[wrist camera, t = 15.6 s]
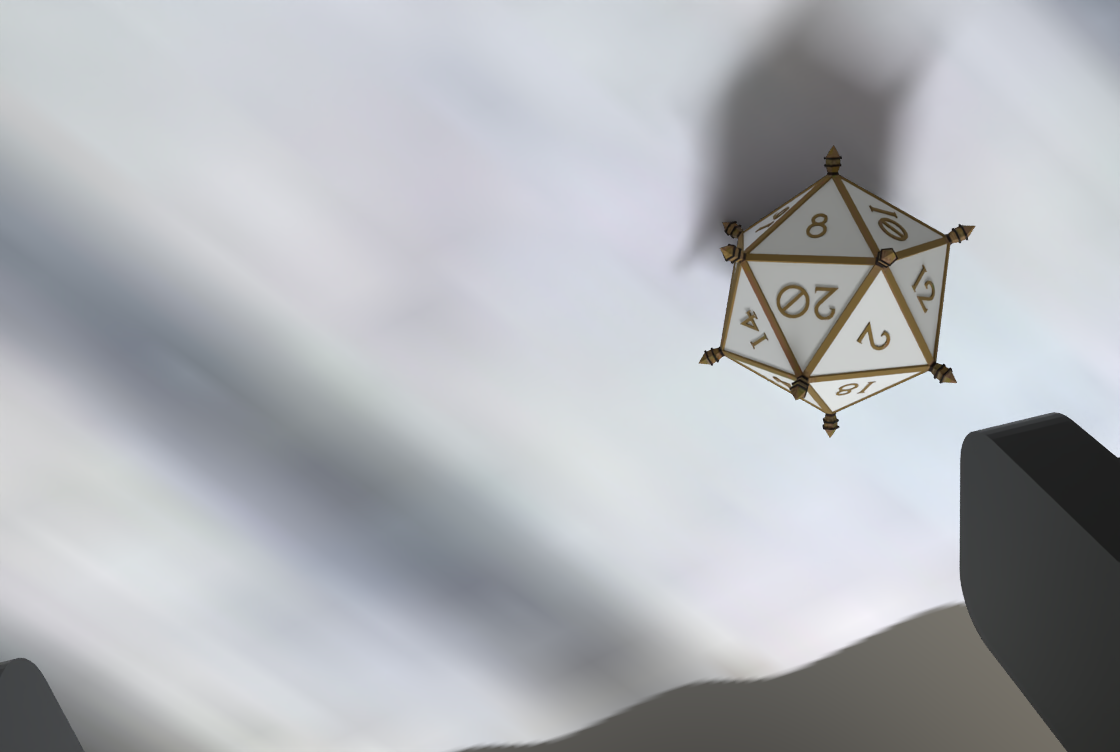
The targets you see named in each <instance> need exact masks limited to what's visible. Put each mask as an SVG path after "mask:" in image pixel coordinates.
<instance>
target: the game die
mask: <svg viewBox="0 0 1120 752" xmlns="http://www.w3.org/2000/svg"><path fill="white" fill-rule="evenodd" d="M824 159H826V164H825V165H824V167H826V168H827V171H828V173H827V175H826V176H825V177H823V178H822V179H820V180H819V181H817V182H816V183H814V184H813V185H811V186H810V187H808V188H807V189H805V190H804V191H802V192H801V193H799V194H798V195H796V196H795V197H793V198H792V199H790V200H789V201H787V202H786V203H784V204H783V205H782V206H780V207H779V208H777V209H776V210H774V211H773V212H771V213H770V214H768V215H767V216H765V217H764V218H762V219H761V220H759V221H758V222H756V223H755V224H753V225H752V226H750V227H749V228H747V229H746V230H744V231H743V230H742V228H741V225H738V224H736V223H737V222H736V221H734V222H722V223H723V225H724V228H725V233H726V234H727V235H728V236H729V235H730V236H731V237H732V238H733V239H734V238H738V242H737V247H736V246H735V245H731V244H728V246H725V247H722V248H720V249H721V251H722V253H723V256H724V258H725V261H731V263H734V266H733V272H732V278H731V284H730V290H729V296H728V302H727V308H726V314H725V321H724V327H723V333H722V339H721V345H720V347H719V348H716V349H713V348H711V350H709V351H706V350H705V351H704V352H705V353H704V355H703V357H702V358H701V360H700V362H699V363H701V364H711V366H712V365H713V363H715V362H719V359H720V358H722V357H723V356H726V357H728V358H729V359H731V360H733V361H735V362H736V363H738V364H740V365H742V366H743V367H745V368H747V369H749V370H750V371H752V372H754V373H756V374H757V375H759V376H761V377H763V378H764V379H766V380H768V381H770V382H771V383H773V384H775V385H777V386H778V387H780V388H782V389H784V390H786V391H787V392H789V393H791V394H792V395H793V396H794V398H795V400H798V399H801V400H803V401H805V402H807V403H808V404H810V405H812V406H814V407H815V408H817V409H819V410H821V411H822V412H824V413H826V415H825V418H823V422H824V424H823V429H825V431H826V432H827V434H828V435H829V437H831V436H832V435H833V433H834V432H835V430H836V429H837V428H839V426H837V422H838V421H839V420H838V419H837V418H836V412H838V411H841V410H843V409H845V408H847V407H849V406H852V405H854V404H856V403H858V402H860V401H863V400H865V399H867V398H869V397H872V396H874V395H876V394H878V393H880V392H883V391H885V390H887V389H889V388H892V387H894V386H896V385H898V384H900V383H903V382H905V381H907V380H909V379H911V378H914V377H916V376H918V375H920V374H923V373H925V372H927V371H930V372H931V373H932V374H933V375H934V379H936V378H937V379H938V380H940V382H939V383H943V382H948V383H957V382H956V380H955V378H954V376H953V374H952V372H953V371H952V369H951V368H947V367H946V366H945V364H943V365H941V364H938V363H936V359H937V351H938V342H939V334H940V326H941V317H942V309H943V301H944V292H945V284H946V276H947V267H948V259H949V251H950V245H951V244H952V243H956V242H959V243H961V241H962V240H965V239H966V240H968V237H969V235H970V234H971V232H972V231H973V229H974V228H975V226H963V225H961V224H959V227H957V228H955V229H954V228H952V231H951V232H950V233H949V234H946V235H945V234H943V233H941V232H939V231H937V230H936V229H934V228H932V227H930V226H929V225H927V224H925V223H923V222H922V221H920V220H918V219H916V218H915V217H913V216H911V215H909V214H908V213H906V212H904V211H902V210H900V209H899V208H897V207H895V206H893V205H892V204H890V203H888V202H886V201H885V200H883V199H881V198H879V197H878V196H876V195H874V194H872V193H870V192H869V191H867V190H865V189H863V188H862V187H860V186H858V185H856V184H855V183H853V182H851V181H849V180H848V179H846V178H844V177H842V176H840V175H839V173H838V170H839V167H840V166H841V164H840V159H842V157H841V156H839V154H838V152H837V150H836V148H835V147H834V145H833V147H832V148H831V150H830V151H829V153H828V155H827V156H826V157H824Z"/></svg>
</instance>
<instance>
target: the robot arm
mask: <svg viewBox="0 0 1120 752" xmlns="http://www.w3.org/2000/svg"><path fill="white" fill-rule="evenodd" d="M960 580H961V587H962V592H963V596H964V599H965V603H966V606H967V609H968V612H969V615H970V617H971V619H972V622H973V624H974V626H975V628H976V630H977V632H978V633H979V635H980V637H981V639H982V640H983V642H984V643H985V645H986V646H987V647H988V649H989V650H990V651H991V653H992V654H993V655H994V657H995V658H996V659H997V660H998V662H999V663H1000V664H1001V666H1002V667H1003V668H1004V669H1005V671H1006V672H1007V674H1008V675H1009V676H1010V677H1011V679H1012V680H1013V681H1014V683H1015V684H1016V685H1017V686H1018V688H1019V689H1020V690H1021V692H1022V693H1023V694H1024V696H1025V697H1026V698H1027V700H1028V701H1029V702H1030V703H1031V705H1032V706H1033V707H1034V709H1035V710H1036V711H1037V713H1038V714H1039V715H1040V717H1041V718H1042V719H1043V721H1044V722H1045V723H1046V724H1047V726H1048V727H1049V728H1050V730H1051V731H1052V732H1053V733H1054V735H1055V736H1056V738H1057V739H1058V740H1059V741H1060V743H1061V744H1062V745H1063V747H1064V748H1065V749H1066V751H1067V752H1120V457H1119V458H1117V457H1116V456H1115V455H1114V454H1112V453H1111V452H1110V451H1109V450H1108V449H1106V448H1105V447H1104V446H1103V445H1101V444H1100V443H1099V442H1098V441H1097V440H1095V439H1094V438H1093V437H1092V436H1091V435H1089V434H1088V433H1087V432H1086V431H1085V430H1083V429H1082V428H1081V427H1080V426H1079V425H1077V424H1076V423H1075V422H1074V421H1072V420H1071V419H1070V418H1068V417H1067V416H1065V415H1063V414H1060V413H1055V412H1053V413H1049V414H1044V415H1040V416H1036V417H1032V418H1028V419H1024V420H1019V421H1015V422H1011V423H1007V424H1003V425H999V426H994V427H990V428H986V429H982V430H978V431H974V432H971V433H969V434H968V435H967V436H966V437H965V439H964V441H963V444H962V449H961V458H960ZM0 752H84V750H83V748H82V746H81V744H80V743H79V741H78V739H77V737H76V735H75V733H74V731H73V730H72V728H71V726H70V724H69V722H68V720H67V718H66V717H65V715H64V713H63V711H62V709H61V707H60V705H59V703H58V702H57V700H56V698H55V696H54V694H53V692H52V690H51V689H50V687H49V685H48V683H47V681H46V679H45V678H44V676H43V674H42V673H41V671H40V670H39V669H38V667H37V666H36V665H35V664H34V663H32V662H31V661H29V660H27V659H25V658H17V659H13V660H9V661H5V662H1V663H0Z"/></svg>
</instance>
